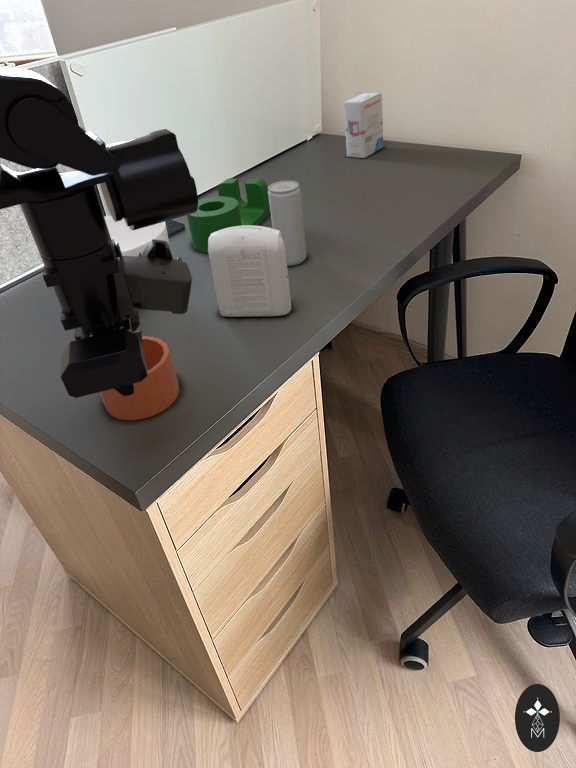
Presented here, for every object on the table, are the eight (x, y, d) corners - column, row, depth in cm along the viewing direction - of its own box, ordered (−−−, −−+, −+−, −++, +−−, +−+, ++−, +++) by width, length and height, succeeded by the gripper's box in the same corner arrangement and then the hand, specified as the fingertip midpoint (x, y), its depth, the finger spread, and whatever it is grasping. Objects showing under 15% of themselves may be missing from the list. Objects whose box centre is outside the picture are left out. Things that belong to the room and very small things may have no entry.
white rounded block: (294, 301, 81) (284, 218, 73) (290, 317, 77) (279, 231, 70) (223, 304, 82) (207, 222, 75) (217, 320, 79) (199, 236, 72)
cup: (106, 428, 63) (90, 390, 60) (104, 383, 70) (90, 346, 67) (183, 408, 64) (172, 369, 61) (174, 366, 71) (164, 329, 68)
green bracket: (230, 254, 96) (224, 217, 92) (184, 251, 99) (175, 215, 95) (270, 212, 108) (266, 179, 104) (228, 211, 111) (222, 178, 108)
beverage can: (306, 265, 89) (299, 189, 82) (276, 268, 90) (266, 193, 82) (306, 252, 93) (299, 178, 86) (277, 254, 93) (268, 181, 86)
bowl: (147, 259, 98) (132, 204, 92) (200, 285, 88) (186, 226, 82) (61, 296, 90) (38, 239, 84) (108, 330, 80) (86, 268, 74)
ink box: (365, 145, 136) (364, 91, 128) (384, 147, 133) (383, 92, 126) (345, 156, 131) (343, 100, 123) (364, 158, 128) (362, 101, 121)
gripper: (188, 270, 40) (226, 432, 50) (162, 190, 55) (195, 327, 64) (26, 306, 39) (98, 466, 48) (44, 214, 53) (96, 351, 63)
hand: (128, 393), depth 56 cm, fingers closed
